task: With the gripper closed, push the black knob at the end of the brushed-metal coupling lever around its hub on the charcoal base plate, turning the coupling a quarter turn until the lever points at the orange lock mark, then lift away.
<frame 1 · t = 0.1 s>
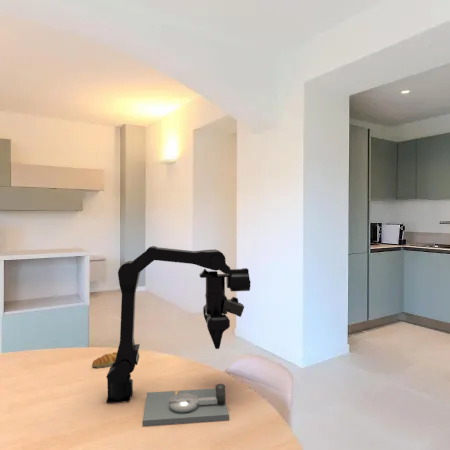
hand: (215, 343, 118), 15 cm above the table, tool pointing down, fingers open, 9 cm apart
pastry: (107, 365, 141), on the table
coupling cap: (197, 395, 106), point 4 cm above the table, hinge at 0.0°
base plate: (185, 408, 108), on the table
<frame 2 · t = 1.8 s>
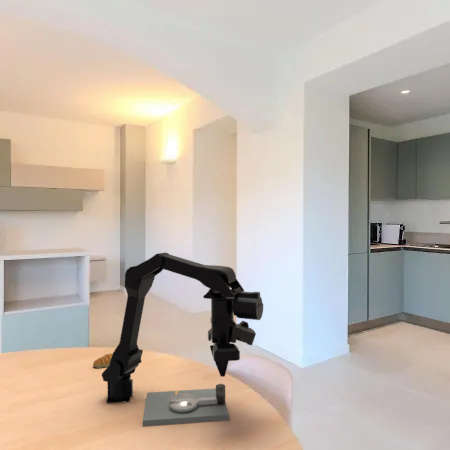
hand: (222, 376, 102), 11 cm above the table, tool pointing down, fingers closed
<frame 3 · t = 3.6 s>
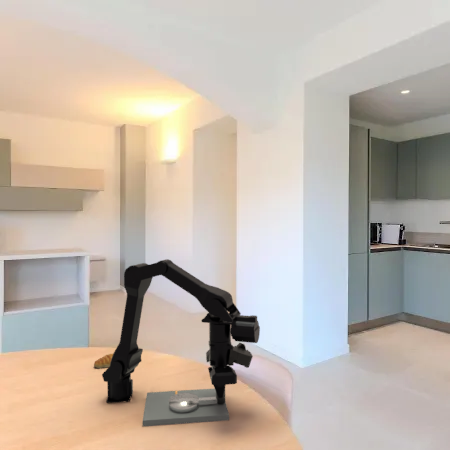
hand: (220, 397, 105), 4 cm above the table, tool pointing down, fingers closed
coupling cap: (197, 395, 107), point 4 cm above the table, hinge at 0.6°, touching gripper
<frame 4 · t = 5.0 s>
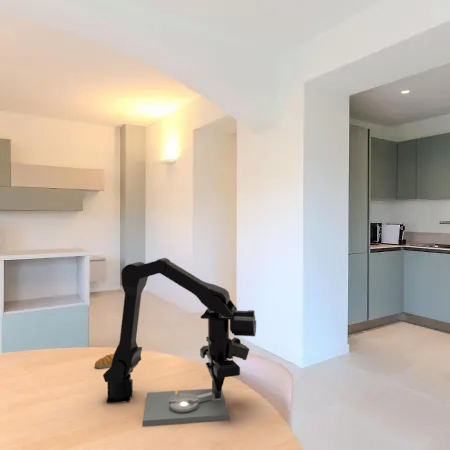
hand: (219, 390, 108), 5 cm above the table, tool pointing down, fingers closed
coupling cap: (196, 393, 108), point 4 cm above the table, hinge at 21.5°, touching gripper
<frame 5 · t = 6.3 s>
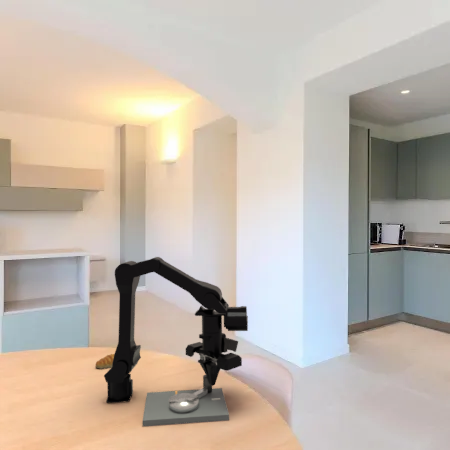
hand: (213, 385, 112), 5 cm above the table, tool pointing down, fingers closed
coupling cap: (192, 391, 109), point 4 cm above the table, hinge at 45.3°, touching gripper
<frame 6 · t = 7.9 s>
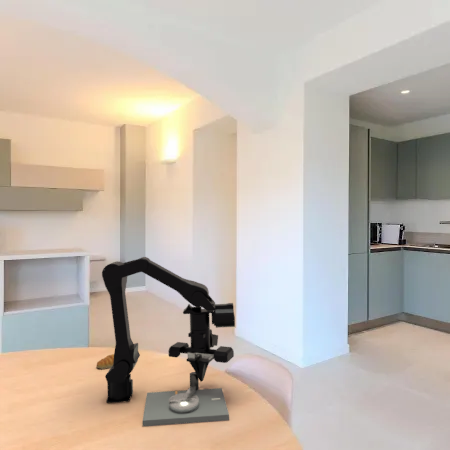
hand: (201, 381, 115), 5 cm above the table, tool pointing down, fingers closed
coupling cap: (187, 390, 110), point 4 cm above the table, hinge at 71.1°, touching gripper
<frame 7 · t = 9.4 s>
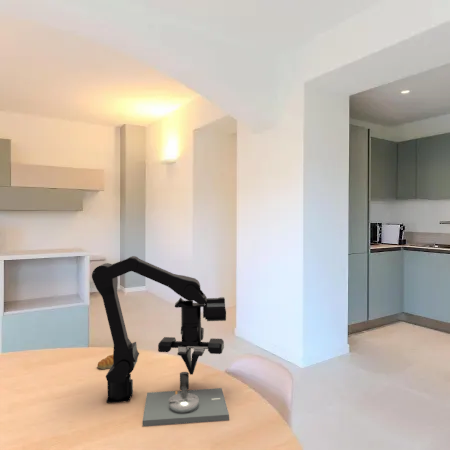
hand: (191, 374, 116), 6 cm above the table, tool pointing down, fingers closed
coupling cap: (184, 390, 110), point 4 cm above the table, hinge at 87.9°
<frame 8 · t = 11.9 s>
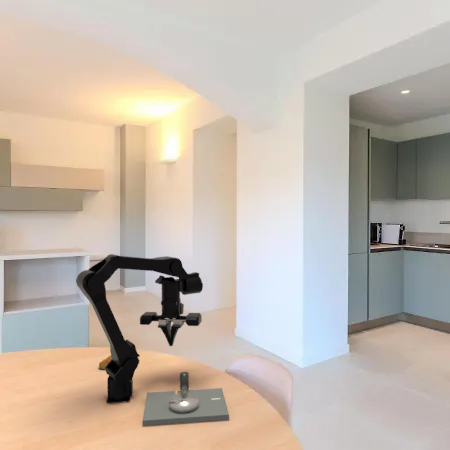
hand: (171, 345, 124), 12 cm above the table, tool pointing down, fingers closed
at the end: coupling cap at +88° (first picture: +0°); the gripper is holding nothing; pastry moved 2.9 cm from its start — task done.
